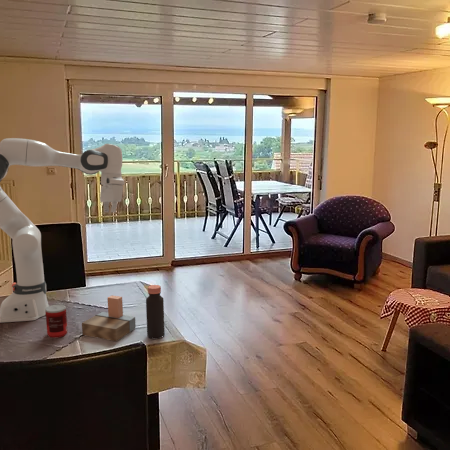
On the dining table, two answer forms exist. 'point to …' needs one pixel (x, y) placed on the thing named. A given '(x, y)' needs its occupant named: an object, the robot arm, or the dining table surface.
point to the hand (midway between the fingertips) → (109, 212)
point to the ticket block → (105, 327)
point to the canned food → (56, 321)
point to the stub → (118, 311)
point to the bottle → (155, 312)
